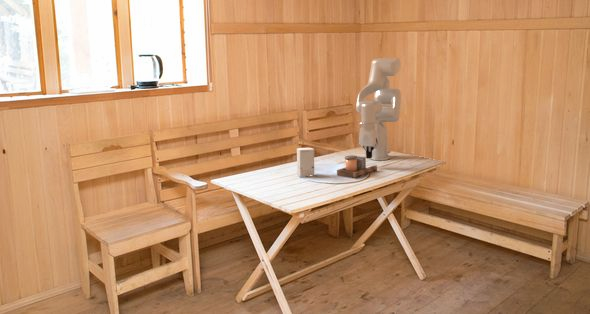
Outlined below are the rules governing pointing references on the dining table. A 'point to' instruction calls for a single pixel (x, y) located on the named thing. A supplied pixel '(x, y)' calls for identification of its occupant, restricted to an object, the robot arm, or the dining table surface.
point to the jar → (351, 163)
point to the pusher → (361, 163)
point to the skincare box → (305, 162)
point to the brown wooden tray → (356, 174)
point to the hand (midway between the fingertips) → (369, 157)
